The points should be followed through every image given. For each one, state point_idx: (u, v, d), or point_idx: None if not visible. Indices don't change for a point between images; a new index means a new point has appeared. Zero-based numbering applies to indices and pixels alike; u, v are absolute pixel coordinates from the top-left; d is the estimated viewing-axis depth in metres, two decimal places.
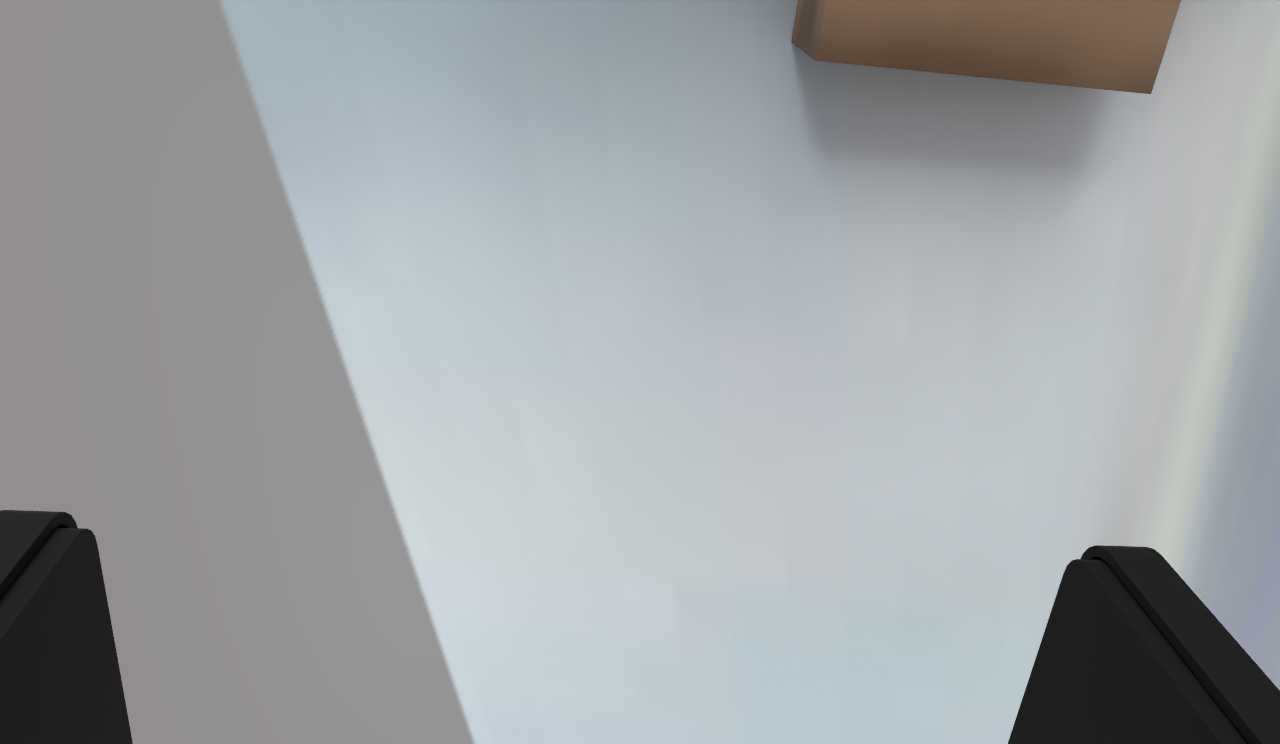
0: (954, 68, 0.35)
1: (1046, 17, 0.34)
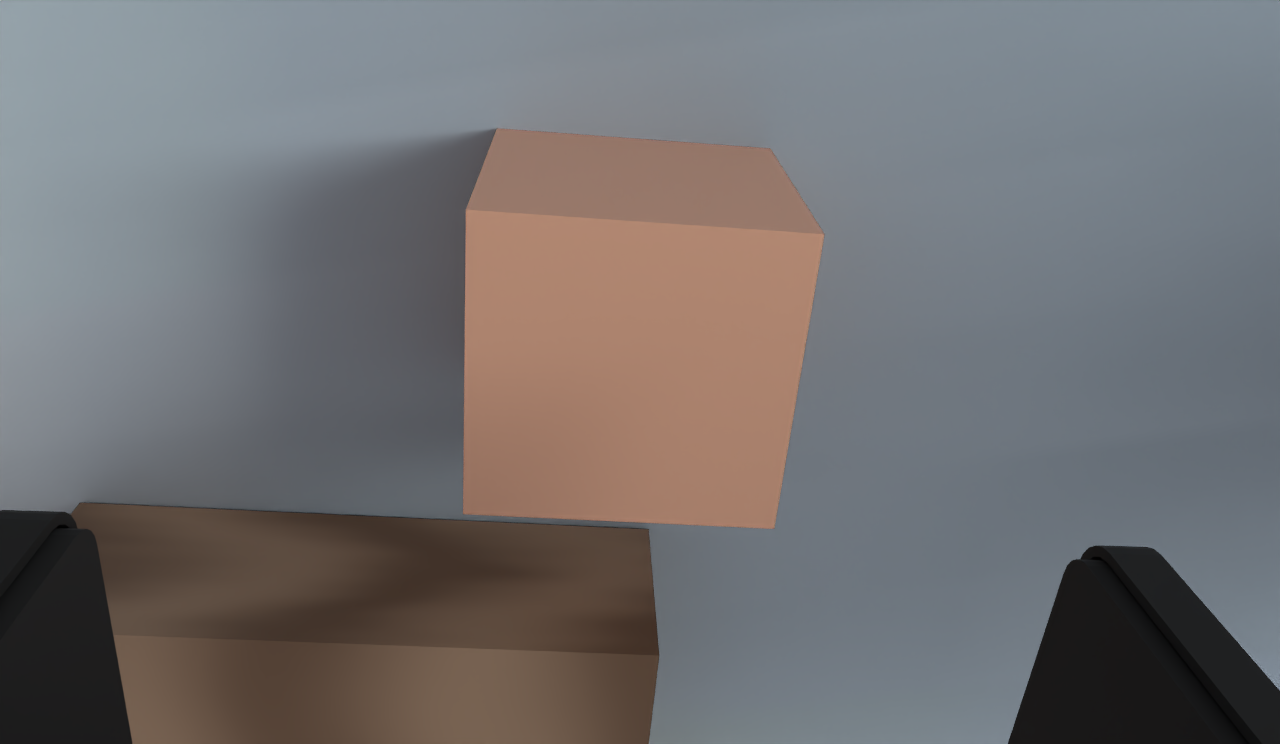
0: None
1: None
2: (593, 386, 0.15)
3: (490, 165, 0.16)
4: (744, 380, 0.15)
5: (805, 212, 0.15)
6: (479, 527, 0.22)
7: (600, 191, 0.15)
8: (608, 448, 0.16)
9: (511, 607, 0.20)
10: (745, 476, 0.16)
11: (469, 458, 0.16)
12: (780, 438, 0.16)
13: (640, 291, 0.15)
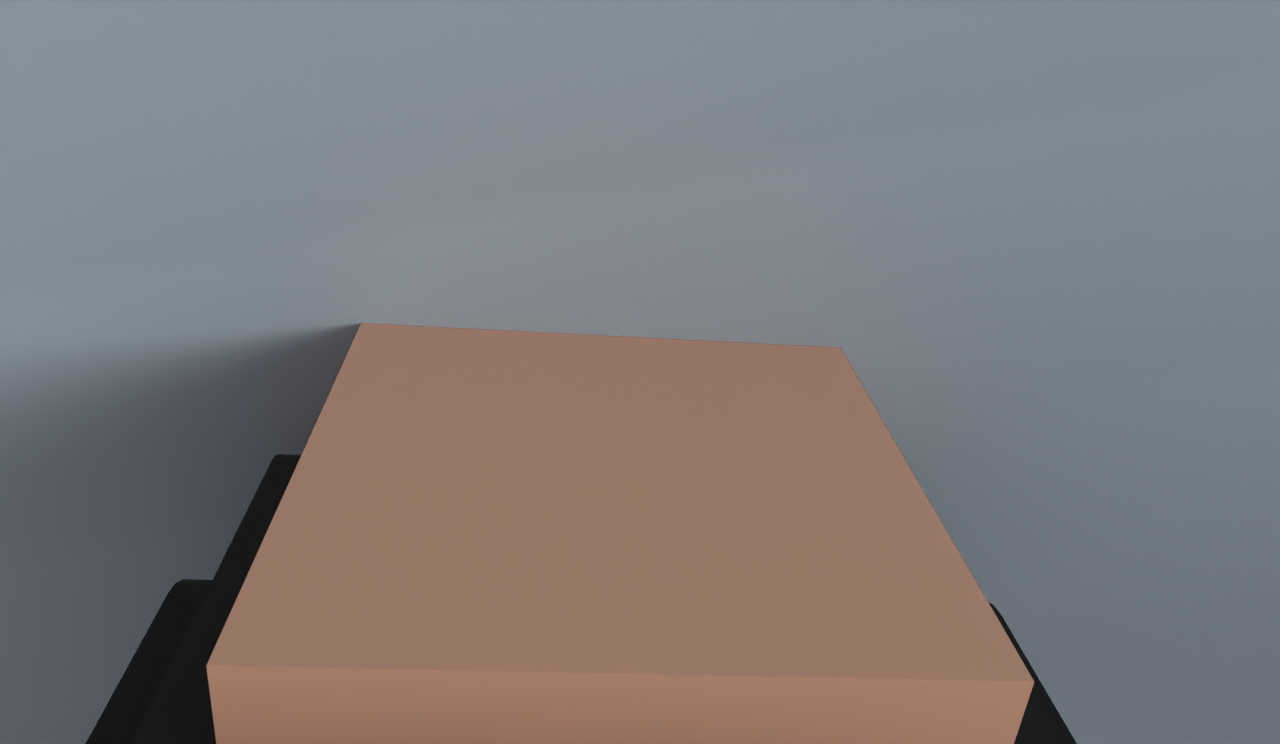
0: None
1: None
2: None
3: (316, 460, 0.08)
4: None
5: (966, 580, 0.07)
6: None
7: (532, 538, 0.07)
8: None
9: None
10: None
11: None
12: None
13: None
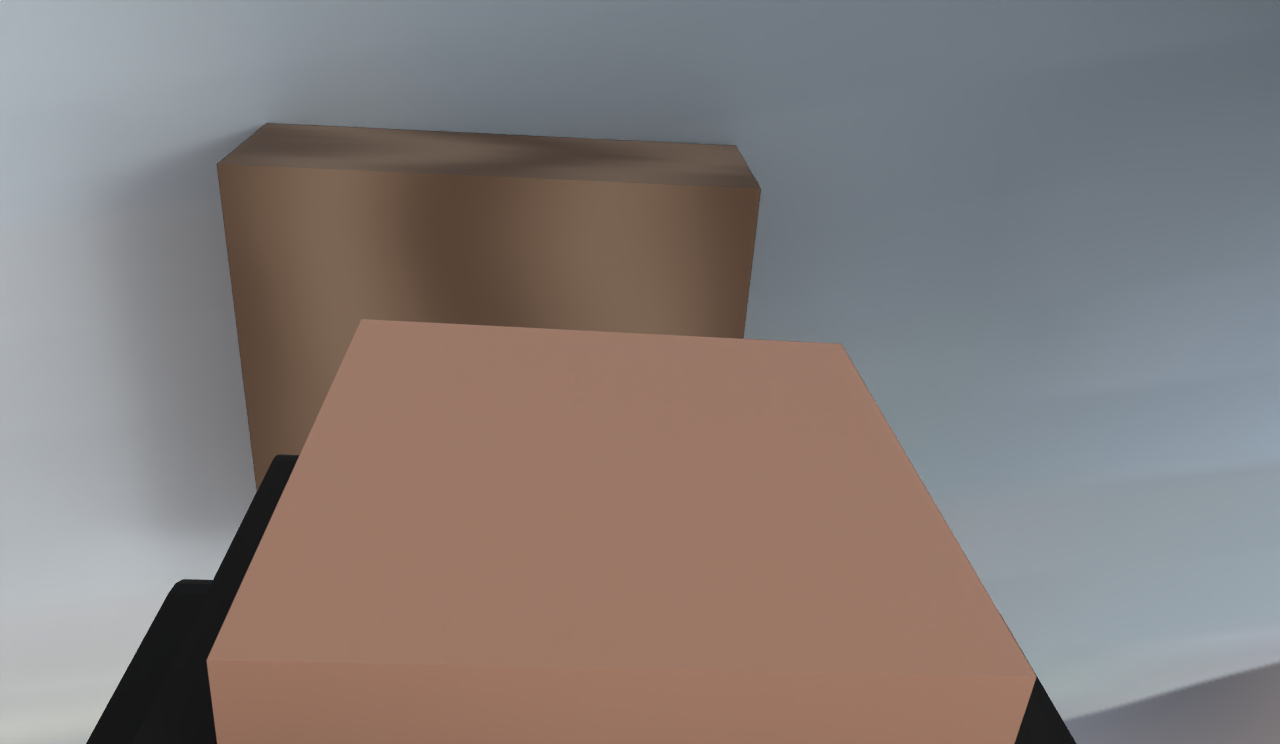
0: (249, 363, 0.24)
1: None
2: None
3: (317, 455, 0.08)
4: None
5: (968, 575, 0.07)
6: (597, 141, 0.26)
7: (534, 533, 0.07)
8: None
9: (636, 169, 0.24)
10: None
11: None
12: None
13: None
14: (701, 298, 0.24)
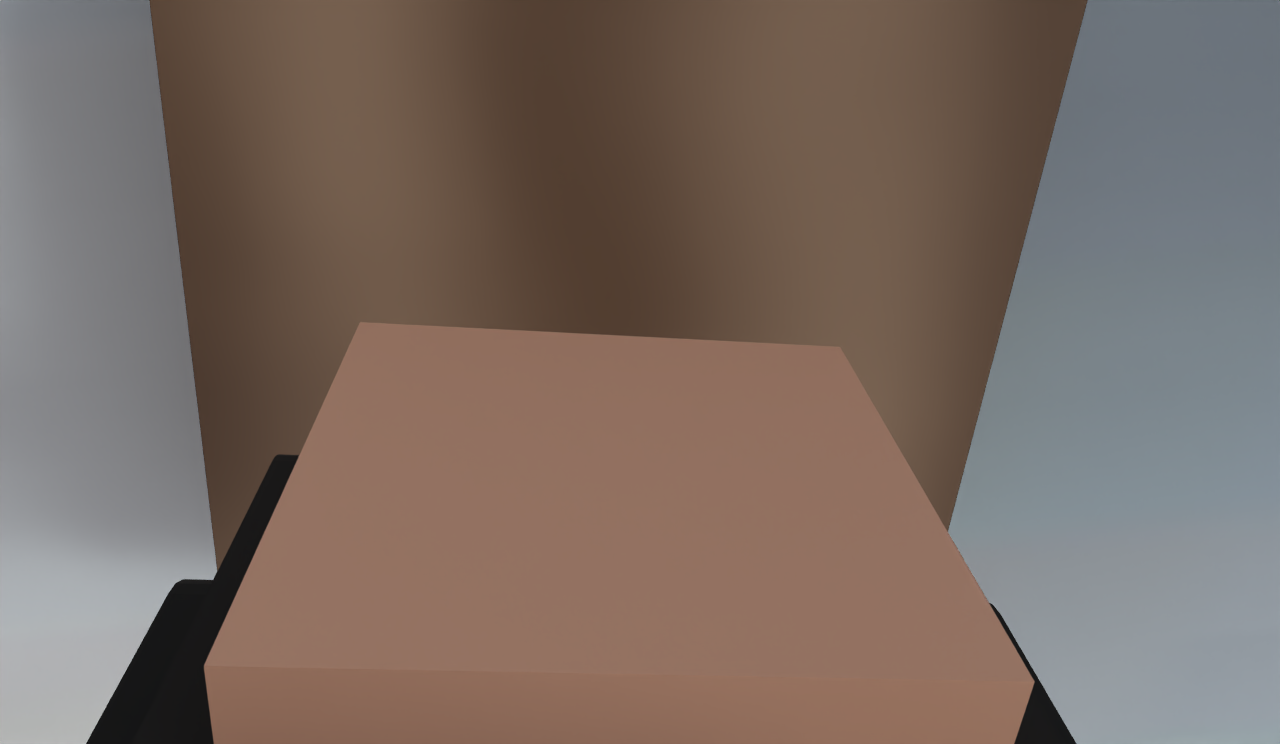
0: (195, 274, 0.14)
1: None
2: None
3: (315, 459, 0.08)
4: None
5: (965, 579, 0.07)
6: None
7: (531, 537, 0.07)
8: None
9: None
10: None
11: None
12: None
13: None
14: (962, 180, 0.14)
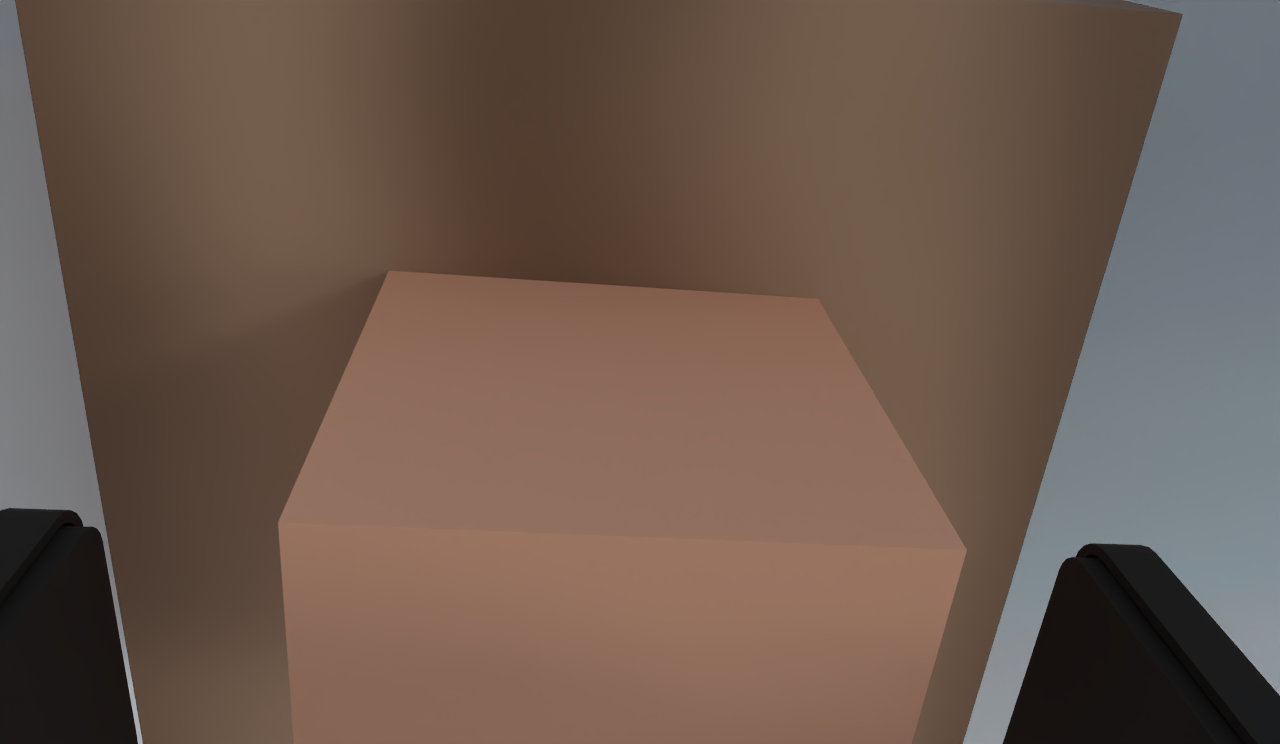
0: (95, 366, 0.12)
1: None
2: None
3: (357, 375, 0.09)
4: None
5: (916, 477, 0.09)
6: None
7: (545, 439, 0.09)
8: None
9: None
10: None
11: None
12: None
13: (620, 650, 0.08)
14: (1019, 250, 0.12)
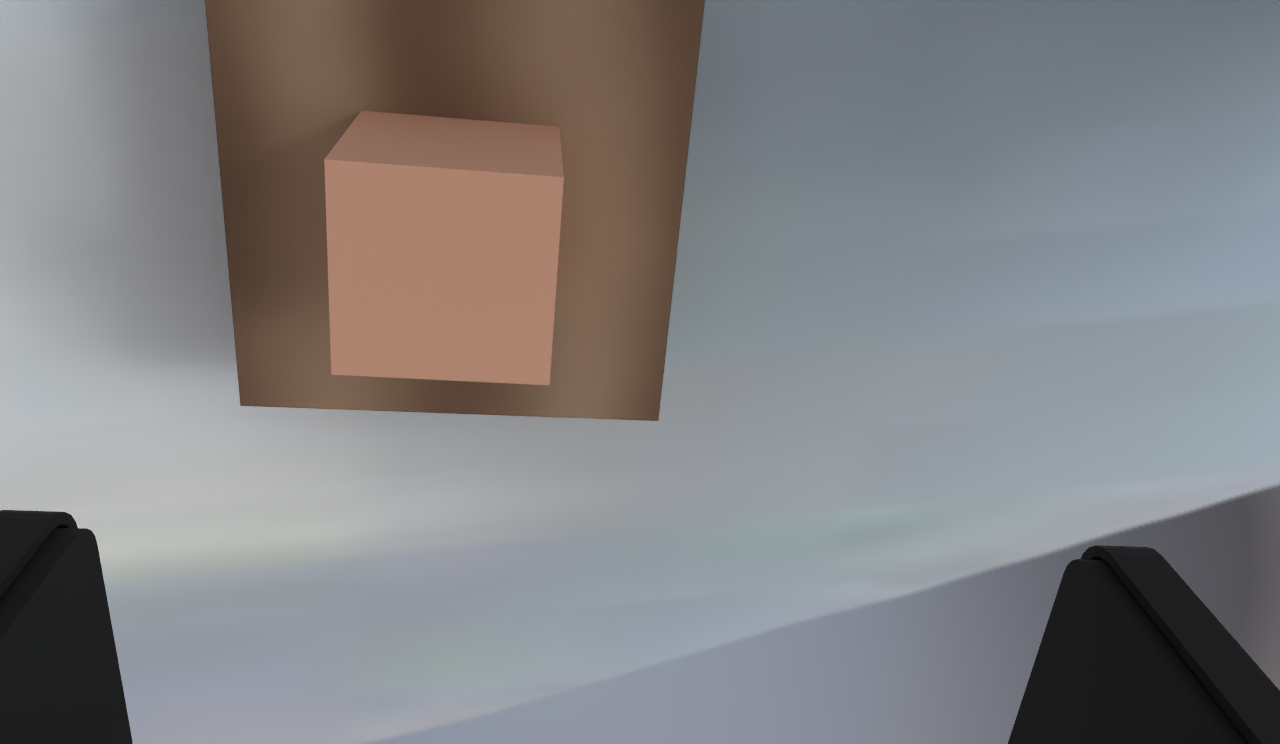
0: (226, 156, 0.26)
1: (310, 262, 0.27)
2: (417, 281, 0.23)
3: (349, 134, 0.23)
4: (519, 277, 0.23)
5: (559, 165, 0.23)
6: None
7: (420, 150, 0.23)
8: (430, 326, 0.23)
9: None
10: (526, 346, 0.24)
11: (334, 333, 0.23)
12: (547, 319, 0.23)
13: (444, 216, 0.22)
14: (650, 103, 0.26)
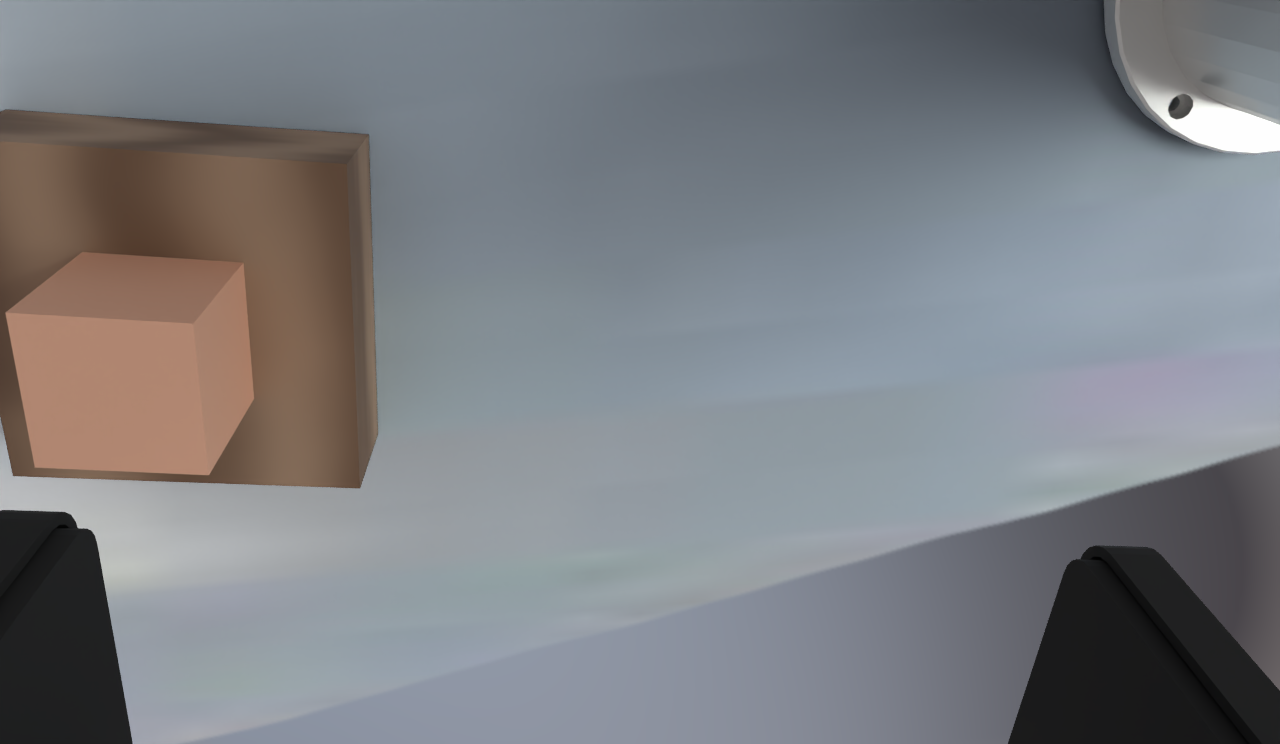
0: None
1: None
2: (91, 399, 0.29)
3: (48, 282, 0.30)
4: (171, 396, 0.30)
5: (202, 309, 0.30)
6: (259, 128, 0.35)
7: (95, 298, 0.30)
8: (106, 432, 0.30)
9: (265, 148, 0.33)
10: (185, 446, 0.30)
11: (32, 437, 0.30)
12: (199, 426, 0.30)
13: (104, 352, 0.29)
14: (314, 244, 0.33)
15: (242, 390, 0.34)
